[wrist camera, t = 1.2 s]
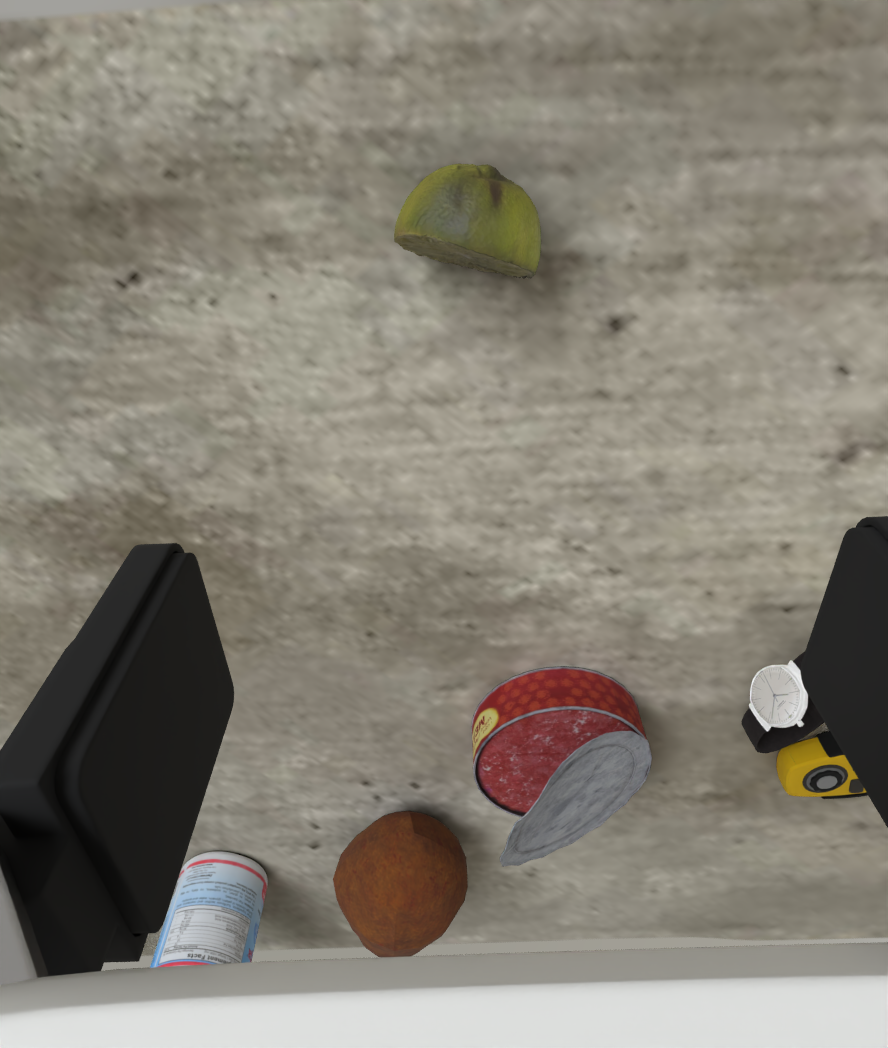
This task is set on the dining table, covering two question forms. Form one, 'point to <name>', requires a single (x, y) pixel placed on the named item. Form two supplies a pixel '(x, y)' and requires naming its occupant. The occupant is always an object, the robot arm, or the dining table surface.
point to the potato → (401, 883)
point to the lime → (472, 221)
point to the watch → (779, 708)
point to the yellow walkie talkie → (817, 770)
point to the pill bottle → (213, 912)
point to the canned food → (557, 755)
